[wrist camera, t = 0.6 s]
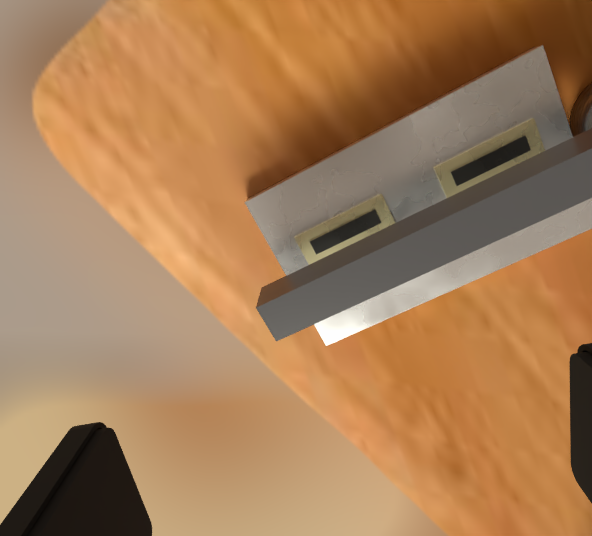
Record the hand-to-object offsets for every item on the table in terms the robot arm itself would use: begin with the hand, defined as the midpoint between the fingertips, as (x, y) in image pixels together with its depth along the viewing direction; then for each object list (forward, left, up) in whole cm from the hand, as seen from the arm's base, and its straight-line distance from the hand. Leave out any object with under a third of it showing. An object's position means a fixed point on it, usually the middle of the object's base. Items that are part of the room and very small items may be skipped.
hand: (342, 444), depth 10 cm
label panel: (-6, +3, -24) cm, 25 cm away
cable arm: (-7, +3, -21) cm, 22 cm away
